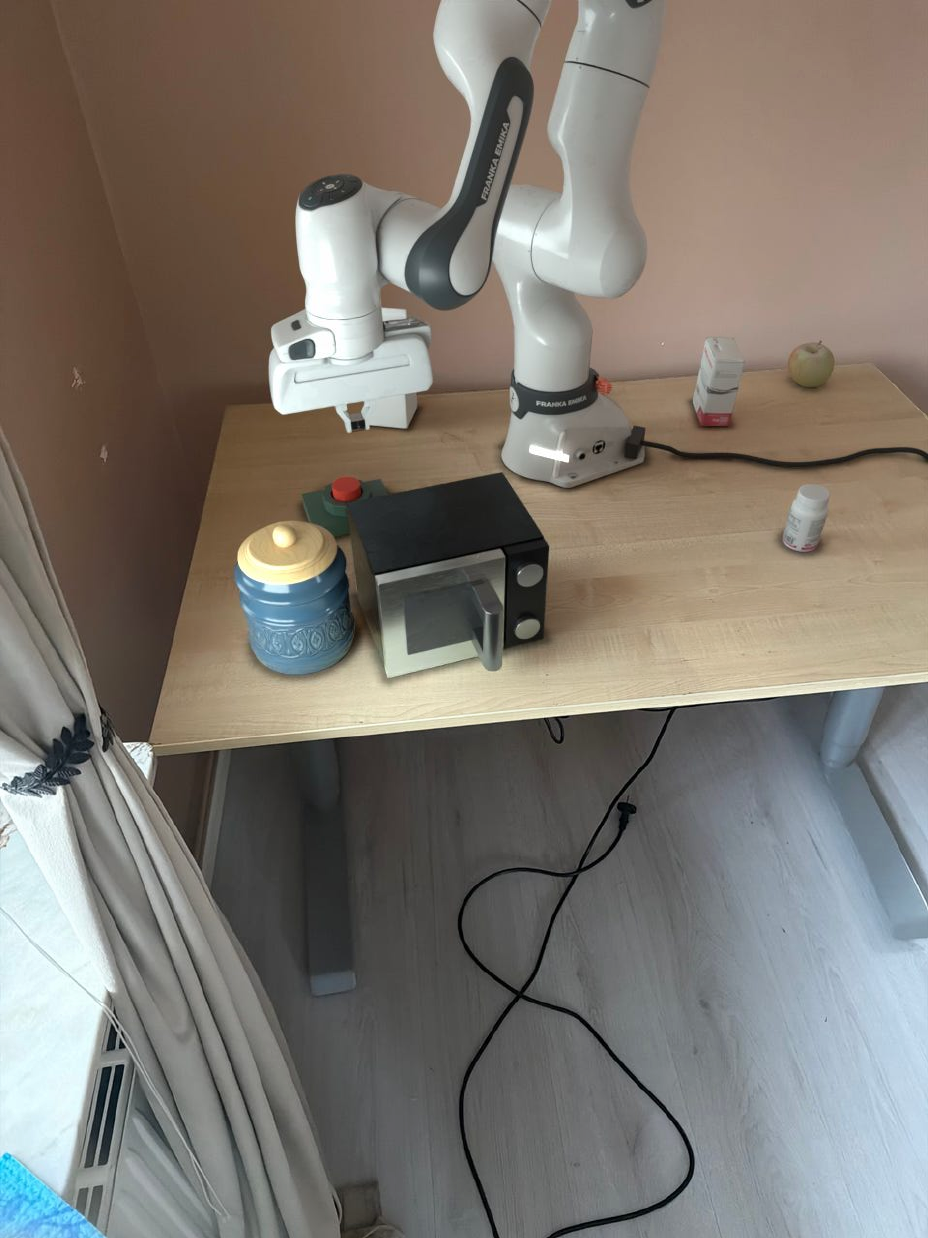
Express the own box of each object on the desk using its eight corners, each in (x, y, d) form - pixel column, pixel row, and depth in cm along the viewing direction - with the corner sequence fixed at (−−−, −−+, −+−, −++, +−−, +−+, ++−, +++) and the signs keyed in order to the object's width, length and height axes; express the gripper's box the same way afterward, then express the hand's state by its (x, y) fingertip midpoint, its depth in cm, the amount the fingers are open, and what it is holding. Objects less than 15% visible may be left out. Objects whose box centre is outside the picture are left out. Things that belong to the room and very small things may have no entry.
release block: (381, 490, 135) (379, 468, 133) (397, 524, 129) (395, 501, 126) (303, 505, 133) (299, 483, 130) (315, 541, 127) (311, 518, 124)
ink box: (731, 427, 147) (746, 360, 139) (700, 427, 148) (713, 360, 139) (721, 400, 154) (734, 335, 146) (691, 401, 154) (703, 335, 146)
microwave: (545, 644, 111) (552, 548, 100) (389, 682, 106) (379, 586, 96) (500, 564, 122) (502, 471, 112) (357, 596, 118) (345, 502, 108)
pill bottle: (818, 535, 126) (834, 485, 120) (816, 555, 123) (833, 505, 117) (783, 529, 127) (797, 479, 121) (780, 549, 124) (795, 498, 118)
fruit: (826, 375, 160) (838, 332, 155) (829, 394, 155) (841, 351, 149) (782, 370, 161) (793, 328, 156) (783, 390, 156) (794, 347, 151)
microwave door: (519, 682, 106) (523, 587, 96) (400, 712, 103) (391, 617, 93) (498, 641, 111) (500, 548, 101) (384, 669, 108) (374, 575, 98)
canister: (362, 668, 108) (347, 553, 96) (253, 685, 106) (224, 571, 94) (349, 598, 117) (334, 486, 105) (249, 613, 115) (222, 500, 103)
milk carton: (407, 429, 148) (400, 319, 135) (365, 425, 149) (355, 315, 136) (417, 408, 153) (411, 299, 140) (377, 404, 154) (368, 296, 142)
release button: (357, 484, 130) (356, 474, 129) (363, 499, 128) (362, 489, 126) (330, 489, 130) (329, 479, 128) (336, 504, 127) (335, 494, 125)
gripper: (423, 304, 111) (428, 404, 120) (257, 328, 107) (276, 430, 116) (437, 325, 106) (441, 427, 116) (265, 351, 102) (283, 455, 112)
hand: (357, 429), depth 116 cm, fingers closed
